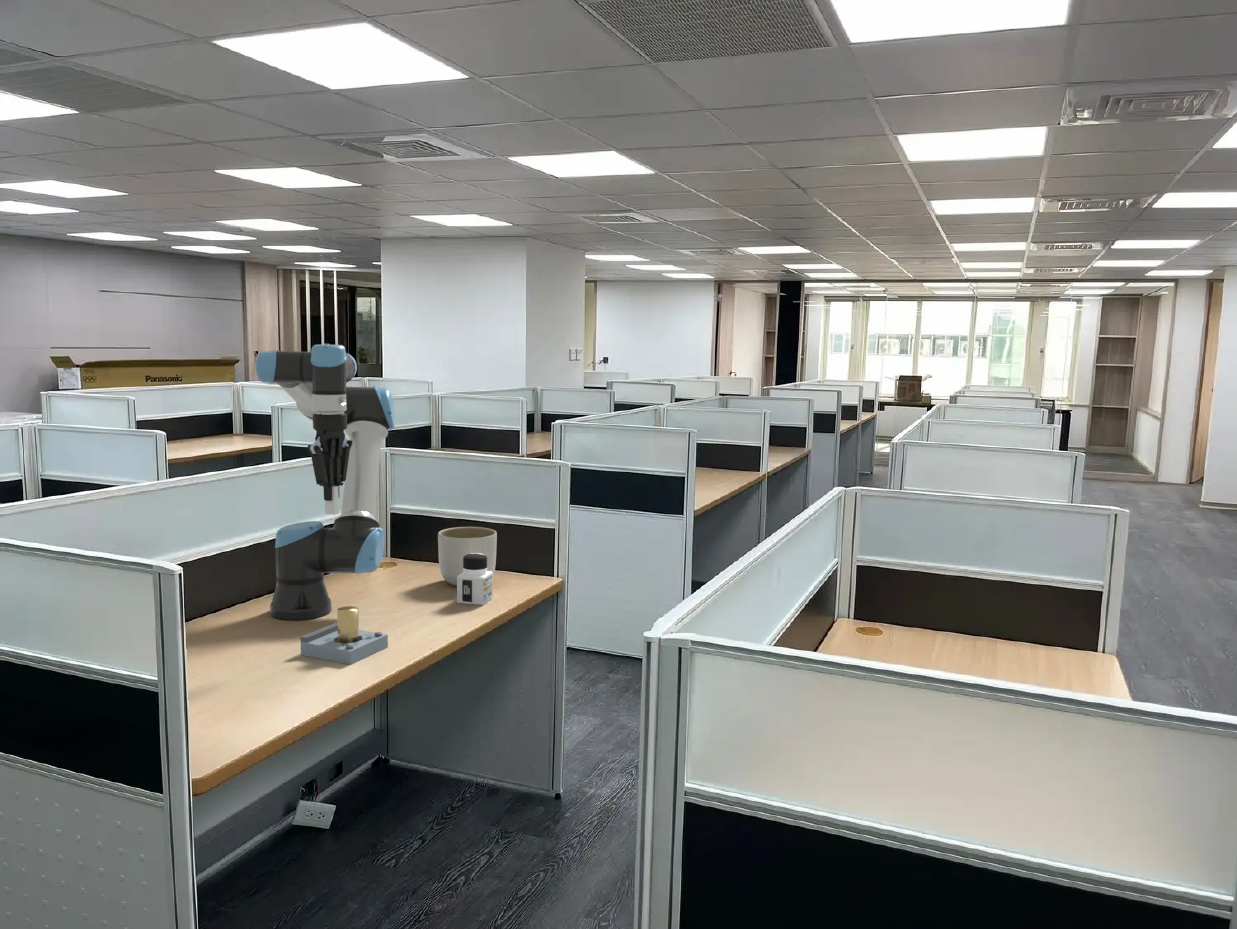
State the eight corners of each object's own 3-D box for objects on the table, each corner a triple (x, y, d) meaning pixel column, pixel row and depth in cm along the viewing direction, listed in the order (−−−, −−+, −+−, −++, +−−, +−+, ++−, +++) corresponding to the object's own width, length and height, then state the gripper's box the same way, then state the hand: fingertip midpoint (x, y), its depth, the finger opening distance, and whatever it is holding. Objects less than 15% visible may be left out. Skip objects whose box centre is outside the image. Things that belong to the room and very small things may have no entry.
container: (483, 605, 250) (483, 558, 248) (456, 603, 251) (456, 556, 250) (493, 598, 257) (493, 552, 256) (466, 596, 259) (466, 550, 257)
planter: (508, 581, 276) (508, 531, 274) (471, 593, 261) (471, 541, 259) (463, 573, 284) (463, 524, 282) (426, 584, 270) (425, 533, 268)
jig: (300, 654, 208) (300, 636, 207) (339, 638, 220) (339, 621, 219) (350, 664, 203) (350, 646, 202) (387, 647, 214) (387, 629, 214)
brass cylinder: (333, 653, 210) (333, 610, 208) (347, 647, 214) (346, 605, 213) (350, 656, 208) (349, 613, 207) (363, 650, 212) (362, 607, 211)
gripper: (323, 415, 204) (326, 520, 207) (361, 411, 216) (363, 510, 219) (296, 413, 207) (299, 517, 210) (335, 409, 219) (337, 507, 222)
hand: (332, 513), depth 215 cm, fingers closed
